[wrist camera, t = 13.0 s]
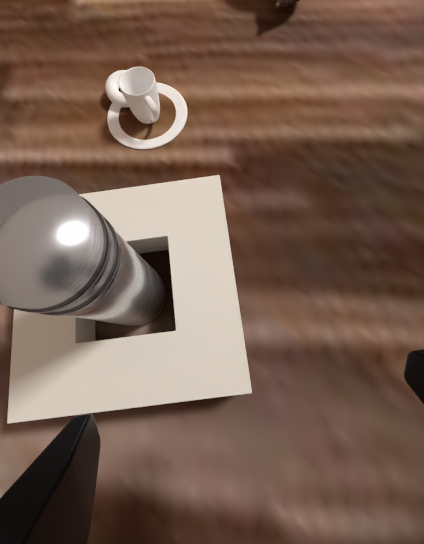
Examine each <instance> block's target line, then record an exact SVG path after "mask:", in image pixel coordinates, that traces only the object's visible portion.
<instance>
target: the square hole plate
mask: <svg viewBox="0 0 424 544" xmlns="http://www.w3.org/2000/svg"><path fill="white" fill-rule="evenodd" d="M79 196H81V197H83V198H85V199H86V200H87V201H89V202H90V203H91V204H92V205H93V206H94V207H95V208H96V209H97V210H98V211H99V212H100V213H101V214H102V215H103V216H104V217H105V218H106V219H107V220H108V221H109V222H110V224H111V225H112V226H113V227H114V229H115V231H116V232H117V233H118V234H119V235H120V236H121V237H122V238H123V239H124V240H125V241H126V242H127V243H128V244H129V245H130V246H131V247H132V248H133V249H134V250H135V251H136V252H137V253H138V254H141V253H148V252H156V251H163V250H169V256H170V268H171V279H172V290H173V302H174V313H175V324H176V331H169V332H162V333H154V334H146V335H138V336H131V337H123V338H115V339H107V340H100V341H96V336H95V320H90V319H84V318H78V317H72V316H66V315H62V316H53V315H45V314H39V313H32V312H25V311H20V310H16V309H14V317H13V334H12V351H11V367H10V384H9V401H8V417H7V424H8V423H16V422H24V421H32V420H40V419H48V418H56V417H64V416H72V415H80V414H88V413H96V412H104V411H112V410H120V409H128V408H136V407H144V406H152V405H160V404H168V403H176V402H184V401H192V400H200V399H208V398H216V397H224V396H232V395H240V394H248V393H252V389H251V383H250V376H249V369H248V363H247V356H246V349H245V343H244V336H243V329H242V322H241V316H240V309H239V302H238V296H237V289H236V282H235V276H234V269H233V262H232V255H231V249H230V242H229V235H228V229H227V222H226V215H225V209H224V202H223V195H222V189H221V182H220V175H216V176H209V177H202V178H195V179H188V180H180V181H173V182H166V183H159V184H152V185H144V186H137V187H130V188H123V189H116V190H108V191H101V192H94V193H87V194H80V195H79Z"/></svg>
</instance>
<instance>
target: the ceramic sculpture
mask: <svg viewBox="0 0 424 544" xmlns="http://www.w3.org/2000/svg"><path fill="white" fill-rule="evenodd" d="M297 1H299V0H276V3H275V6H276V7H277V8H279V7H284V6H288V5H291V4H294V3H296V2H297Z"/></svg>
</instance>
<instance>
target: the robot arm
mask: <svg viewBox="0 0 424 544" xmlns="http://www.w3.org/2000/svg"><path fill="white" fill-rule="evenodd" d="M404 377H405V380H406V382H407V383H408V385H409V386H410V387H411V389H412V390H413V391H414V392H415V394H416V395H417V396H418V397H419V399H420V400H421V401H422V402H423V404H424V350H417V351H412V352H410V353H409V354H408V356H407V361H406V366H405V371H404ZM99 453H100V436H99V433H98V429H97V426H96V422H95V419H94V416H93V415H92V414H84V415H79V416H75V417H74V418H73V419H72V420H71V421H70V422H69V423H68V424H67V425H66V426H65V427H64V428H63V430H62V431H61V432H60V433H59V434H58V435H57V436H56V437H55V438H54V440H53V441H52V442H51V443H50V444H49V445H48V446H47V447H46V448H45V450H44V451H43V452H42V453H41V454H40V455H39V456H38V457H37V458H36V460H35V461H34V462H33V463H32V464H31V465H30V466H29V467H28V468H27V469H26V471H25V472H24V473H23V474H22V475H21V476H20V477H19V478H18V479H17V481H16V482H15V483H14V484H13V485H12V486H11V487H10V488H9V489H8V491H7V492H6V493H5V494H4V495H3V496H2V497H1V498H0V544H87V541H88V536H89V531H90V525H91V520H92V513H93V506H94V497H95V488H96V479H97V471H98V462H99Z"/></svg>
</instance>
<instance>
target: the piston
mask: <svg viewBox="0 0 424 544" xmlns="http://www.w3.org/2000/svg"><path fill="white" fill-rule="evenodd" d="M166 297H167V291H166V286H165V283H164V281H163V279H162V278H161V276H160V275H159V274H158V273H157V272H156V271H155V270H154V269H153V268H152V267H151V266H150V265H149V264H148V263H147V262H146V261H145V260H144V259H143V258H142V257H141V256H140V255H139V254H138V253H137V252H136V251H135V250H134V249H133V248H132V247H131V246H130V245H129V244H128V243H127V242H126V241H125V240H124V239H123V238H122V237H121V236H120V235H119V234H118V233H117V232H116V231H115V229H114V227H113V226H112V225H111V224H110V222H109V221H108V220H107V219H106V218H105V217H104V216H103V215H102V214H101V213H100V212H99V211H98V210H97V209H96V208H95V207H94V206H93V205H92V204H91V203H90V202H89V201H87V200H86V199H85V198H83V197H81V196H79V195H78V194H77V193H76V192H75V191H74V190H73V189H72V188H71V187H70V186H68V185H67V184H65V183H63V182H61V181H59V180H56V179H53V178H50V177H45V176H26V177H20V178H16V179H13V180H10V181H8V182H5V183H3V184H1V185H0V305H4V306H8V307H10V308H12V309H16V310H20V311H25V312H32V313H39V314H45V315H53V316H62V315H66V316H72V317H78V318H84V319H90V320H97V321H103V322H109V323H115V324H121V325H127V326H141V325H144V324H147V323H149V322H151V321H152V320H154V319H155V318H156V317H157V316H158V315H159V314H160V312H161V311H162V309H163V307H164V305H165V302H166Z"/></svg>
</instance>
